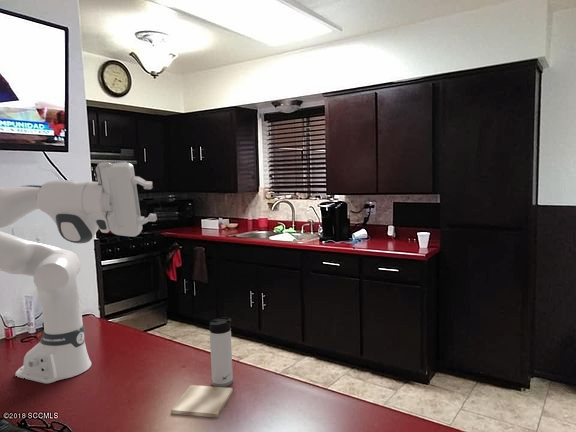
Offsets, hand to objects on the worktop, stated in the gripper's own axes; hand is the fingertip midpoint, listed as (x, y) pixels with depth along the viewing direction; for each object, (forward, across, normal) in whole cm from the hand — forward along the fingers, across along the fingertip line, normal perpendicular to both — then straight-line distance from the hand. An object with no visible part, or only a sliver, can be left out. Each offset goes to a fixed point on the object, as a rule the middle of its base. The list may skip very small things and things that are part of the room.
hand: (153, 201), depth 110 cm
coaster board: (+14, +52, +19) cm, 57 cm away
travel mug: (+18, +56, +10) cm, 60 cm away
